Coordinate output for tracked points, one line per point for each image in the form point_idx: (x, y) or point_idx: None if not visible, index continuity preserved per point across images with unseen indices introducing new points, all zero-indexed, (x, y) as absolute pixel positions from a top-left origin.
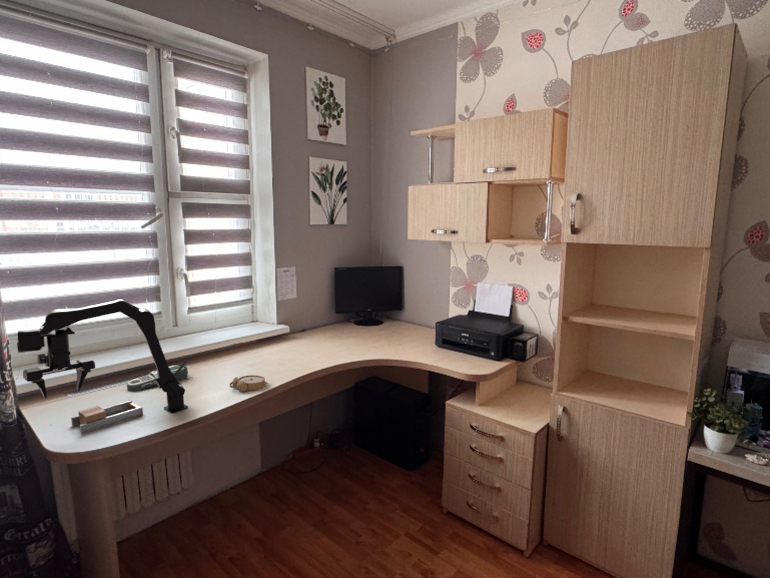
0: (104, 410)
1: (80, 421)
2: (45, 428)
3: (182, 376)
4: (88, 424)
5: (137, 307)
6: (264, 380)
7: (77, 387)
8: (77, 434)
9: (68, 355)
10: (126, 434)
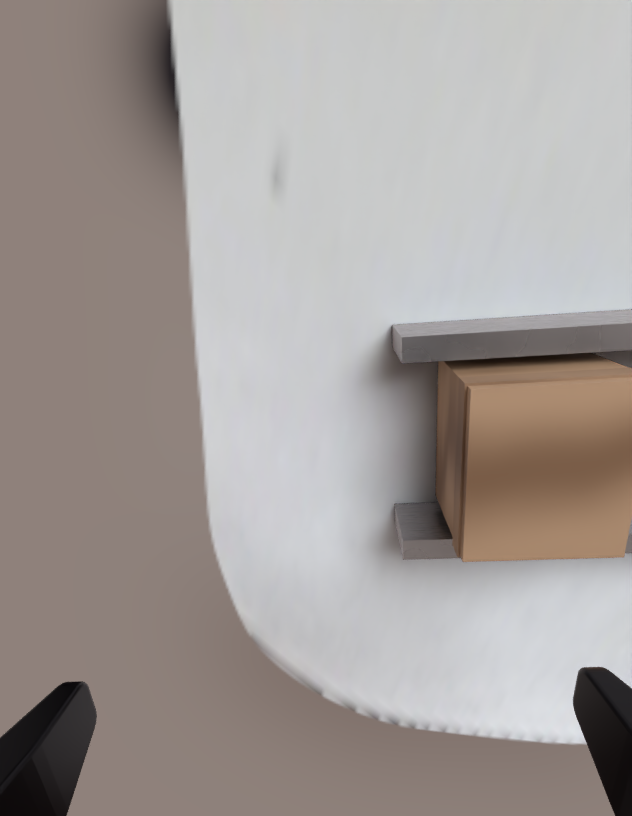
0: (625, 541)
1: (445, 385)
2: (232, 222)
3: None
4: (450, 553)
5: None
6: None
7: (611, 758)
8: (375, 499)
9: None
10: (560, 679)
